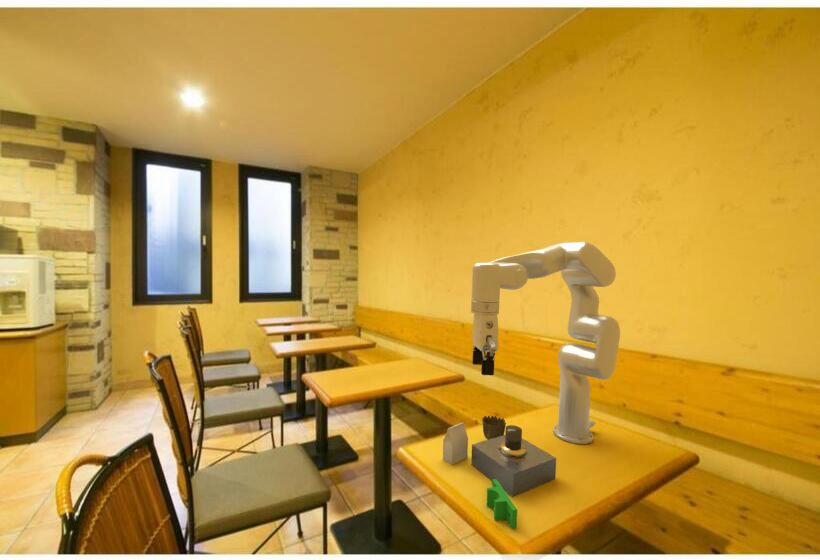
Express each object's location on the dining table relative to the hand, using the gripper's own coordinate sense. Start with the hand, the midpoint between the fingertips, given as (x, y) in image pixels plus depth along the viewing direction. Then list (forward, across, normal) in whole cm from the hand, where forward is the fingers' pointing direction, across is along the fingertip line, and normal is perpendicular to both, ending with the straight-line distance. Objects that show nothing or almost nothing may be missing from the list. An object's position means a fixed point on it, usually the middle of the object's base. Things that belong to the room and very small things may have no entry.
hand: (482, 369), depth 98 cm
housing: (+29, 0, -9) cm, 30 cm away
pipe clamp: (+29, -16, -1) cm, 33 cm away
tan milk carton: (+29, +7, +5) cm, 30 cm away
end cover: (+28, -1, -9) cm, 29 cm away
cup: (+29, +15, -9) cm, 34 cm away
